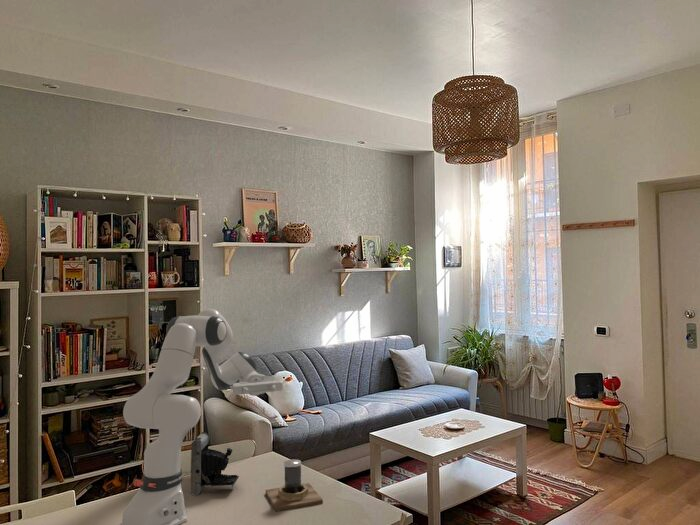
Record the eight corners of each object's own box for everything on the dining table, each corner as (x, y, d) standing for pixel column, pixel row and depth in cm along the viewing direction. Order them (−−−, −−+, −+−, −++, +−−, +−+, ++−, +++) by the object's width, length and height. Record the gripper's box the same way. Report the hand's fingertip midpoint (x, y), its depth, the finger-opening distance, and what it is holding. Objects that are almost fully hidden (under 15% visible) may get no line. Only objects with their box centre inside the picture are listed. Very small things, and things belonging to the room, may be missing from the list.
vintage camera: (232, 497, 188) (234, 439, 188) (189, 495, 188) (191, 438, 189) (239, 486, 197) (240, 432, 198) (197, 485, 198) (199, 431, 199)
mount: (322, 503, 180) (322, 493, 180) (276, 511, 174) (275, 501, 174) (309, 486, 195) (308, 477, 195) (265, 493, 189) (265, 484, 189)
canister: (296, 498, 181) (296, 465, 181) (281, 496, 183) (281, 463, 183) (304, 492, 186) (304, 460, 187) (289, 490, 188) (289, 458, 189)
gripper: (229, 379, 219) (234, 385, 206) (277, 374, 226) (286, 380, 213) (229, 394, 219) (234, 401, 206) (278, 389, 226) (286, 396, 213)
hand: (261, 390), depth 210 cm, fingers open, 8 cm apart
